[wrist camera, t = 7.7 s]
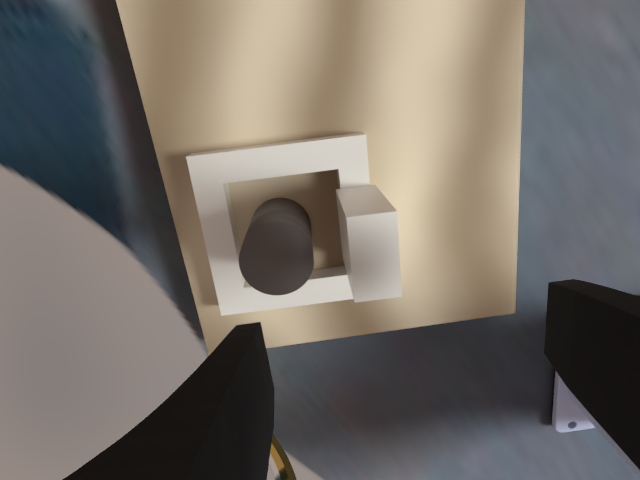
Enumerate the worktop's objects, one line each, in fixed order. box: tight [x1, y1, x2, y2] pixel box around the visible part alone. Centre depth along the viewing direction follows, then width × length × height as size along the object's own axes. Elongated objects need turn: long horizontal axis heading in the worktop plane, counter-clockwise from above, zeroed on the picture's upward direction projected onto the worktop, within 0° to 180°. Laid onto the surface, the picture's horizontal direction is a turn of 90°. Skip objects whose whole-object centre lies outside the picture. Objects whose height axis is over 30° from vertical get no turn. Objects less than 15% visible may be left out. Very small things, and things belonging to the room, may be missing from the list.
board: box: [116, 0, 525, 355], centre depth 16 cm, size 15×16×6 cm
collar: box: [186, 132, 402, 316], centre depth 16 cm, size 7×7×5 cm
